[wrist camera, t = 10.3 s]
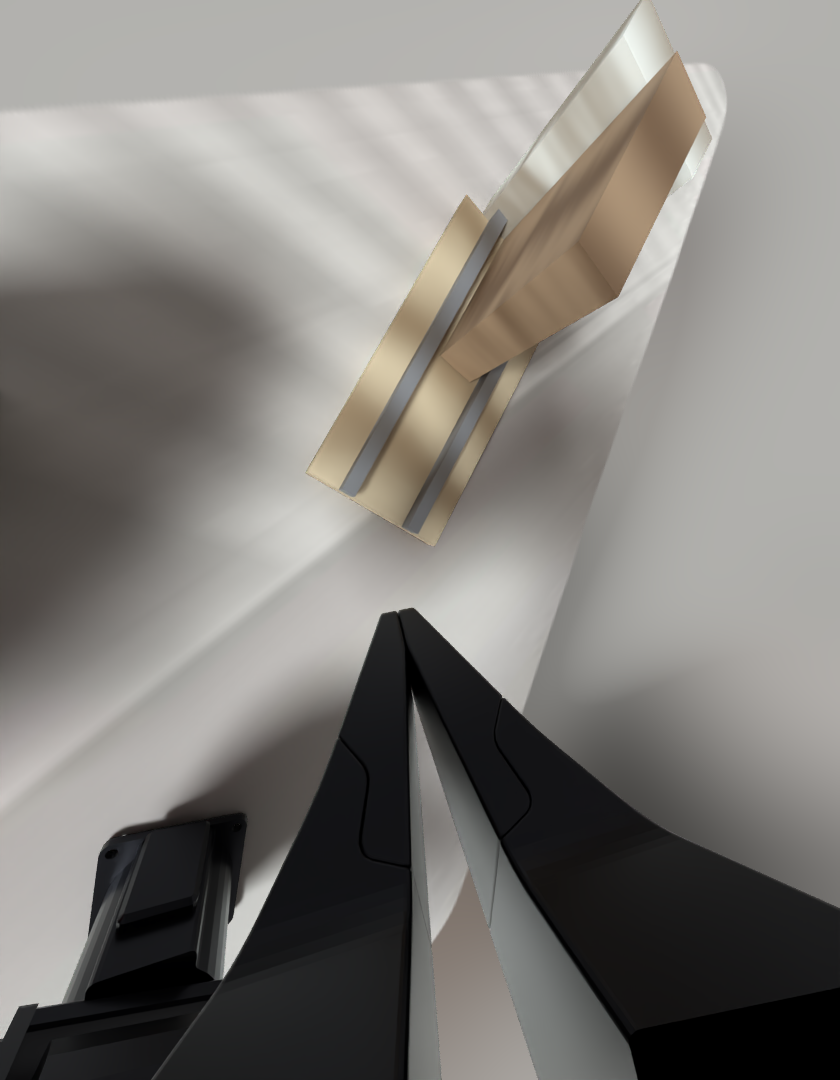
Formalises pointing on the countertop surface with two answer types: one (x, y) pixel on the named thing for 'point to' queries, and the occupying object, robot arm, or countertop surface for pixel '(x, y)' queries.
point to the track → (442, 297)
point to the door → (581, 229)
